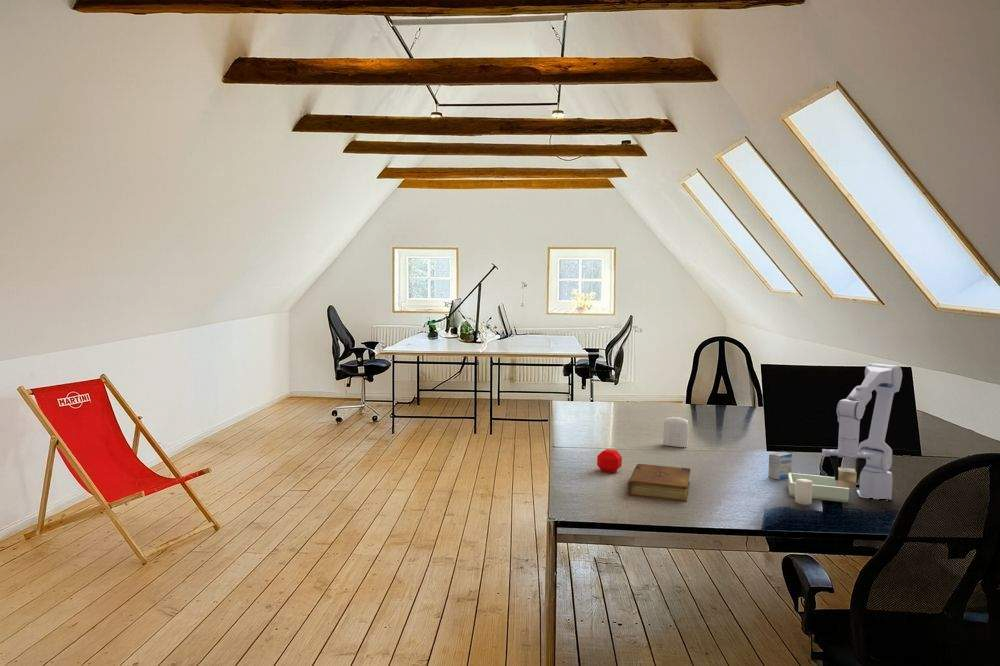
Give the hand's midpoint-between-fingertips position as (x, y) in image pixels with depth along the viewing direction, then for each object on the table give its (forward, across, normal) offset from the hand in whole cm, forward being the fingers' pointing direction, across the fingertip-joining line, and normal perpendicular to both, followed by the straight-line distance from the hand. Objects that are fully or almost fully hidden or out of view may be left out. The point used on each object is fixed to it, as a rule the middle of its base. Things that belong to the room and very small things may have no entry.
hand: (846, 480), depth 231 cm
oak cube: (+2, 0, 0) cm, 2 cm away
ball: (+9, -77, +14) cm, 79 cm away
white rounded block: (+9, -58, +65) cm, 87 cm away
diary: (+9, -57, -2) cm, 58 cm away
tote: (+9, -7, +13) cm, 17 cm away
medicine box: (+9, -18, +30) cm, 36 cm away
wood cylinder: (+9, -12, +1) cm, 15 cm away
